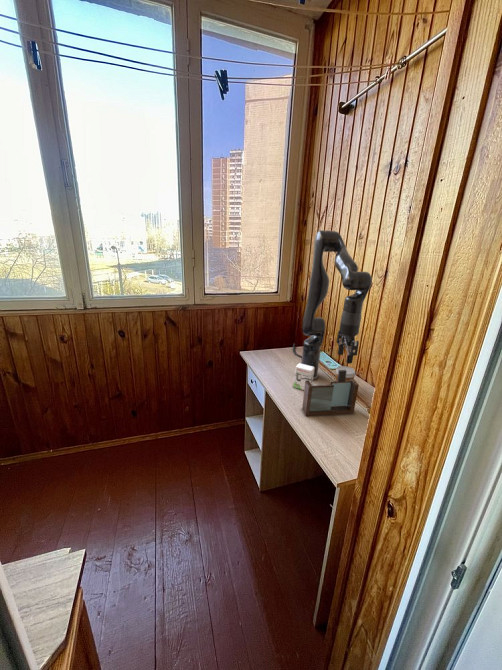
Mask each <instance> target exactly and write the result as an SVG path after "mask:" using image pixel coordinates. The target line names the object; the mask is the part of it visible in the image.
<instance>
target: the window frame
mask: <svg viewBox="0 0 502 670" xmlns="http://www.w3.org/2000/svg"><path fill="white" fill-rule="evenodd" d="M350 380H351V387H350V392H349V398H348V404H347V406H332V407H331V402H332V395H333V389H334V385H330V384H319V385H313V384H312V385H311V383H310V381H305V388H304V390H303V397H302V407H301V409H302V411H303V412H302V413H303V414H304V416H305V417H311V416H331V415H333V416H334V415H348V414H350V415H353V414H354V413H355V408H356V403H357V396H358V391H359V386H360V384H359V383H358V382H357V381H356V380H355V378H354V379H350Z"/></svg>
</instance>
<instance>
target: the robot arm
mask: <svg viewBox="0 0 502 670" xmlns="http://www.w3.org/2000/svg"><path fill="white" fill-rule="evenodd" d="M313 241H314V242H313V256H312V266H311V273H310V279H309V283H308V284H309V285H308V292H307V298H306V306H305V309H304V314H303V318H302V323H301V332H302V334H303V335H304V336H306V337H308V338H306V339H305V340H303V345H302V354H298V353H297V352H296V351H295V348H296V347H295V345H296V343H295V342H294V343H293V345H292V352H293V354H294V355H295V356H297V357H299V358H301V362H300V363H301V364H305V365H309V366H312V367H314V368H315V369H314V376H313V380H316V379H318V373H319V367H320V366H319V365H320V358H321V349H322V345H323V343H324V339H325V338H324V337H325V332H326V321H325V319H324V318H323V317H321V316H316V313H317V310H318V309H319V307H320V306H321V305H322V303H323V302H324V301H325V299H326V298H327V295H328V294H329V288H330V277H329V274H328V272H327V269H326V267H325V265H324V252H325V253H335V257H334V266H335V268H336V270H337V271H338V273H339V274H340V278H341V283H342V286H343V288H344V289H345V290H348V291H355V292H354V293H352V294H349V295H347V296H346V297H345V298H344V302H343V308H342V313H341V316H340V323H339V330H338V332H337V337H336V344H337V346H338V348H337V355H339V356H343V355H344V352H345V350H346V353H347V356H346V361H345V363H346V364H348V365H349V364H352V363H353V360H354V356H357V355H358V351H359V345H360V342H359V340H356V338H355V337H356V336H359V333H360V327H361V322H362V312H363V306H364V302H365V299H366V298H367V295H368V293H369V291H370V289H371V287H372V283H373V278H372V275H371V273H370V272H368V271H359V266H358V264H357V263H356V261H355V260H354V259H353V257H352V256H351V254H350V253H349V251H348V249H347V247H346V244H345V242H344V239H343V237H342V235H341V233H340V232H338V231H336V230H321V229H320V230H318V231H317V232H316V234H315V237H314V240H313Z"/></svg>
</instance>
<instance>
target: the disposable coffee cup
mask: <svg viewBox="0 0 502 670" xmlns="http://www.w3.org/2000/svg"><path fill="white" fill-rule="evenodd" d="M339 370H346V371H347V372H346V378H345V381H347V380H350V379H354V380H355V377H356V369H354V368H353V367H351V366H347V365H338V366H337V367H336V369H335V381H337V378H338V371H339Z"/></svg>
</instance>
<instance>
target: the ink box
mask: <svg viewBox="0 0 502 670" xmlns="http://www.w3.org/2000/svg"><path fill="white" fill-rule="evenodd" d="M314 369H315V368H314V367H312V366H309V365H305V364H301V362H299V363H297V364H296V365H295V370H294V371H295V372H294V377H293V388H295V389H297V390H298V389H299V390H302V391H304V388H305V381H310V383H311V385H312V386H313V384H314V383H313V382H314V379H313V376H314Z"/></svg>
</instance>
